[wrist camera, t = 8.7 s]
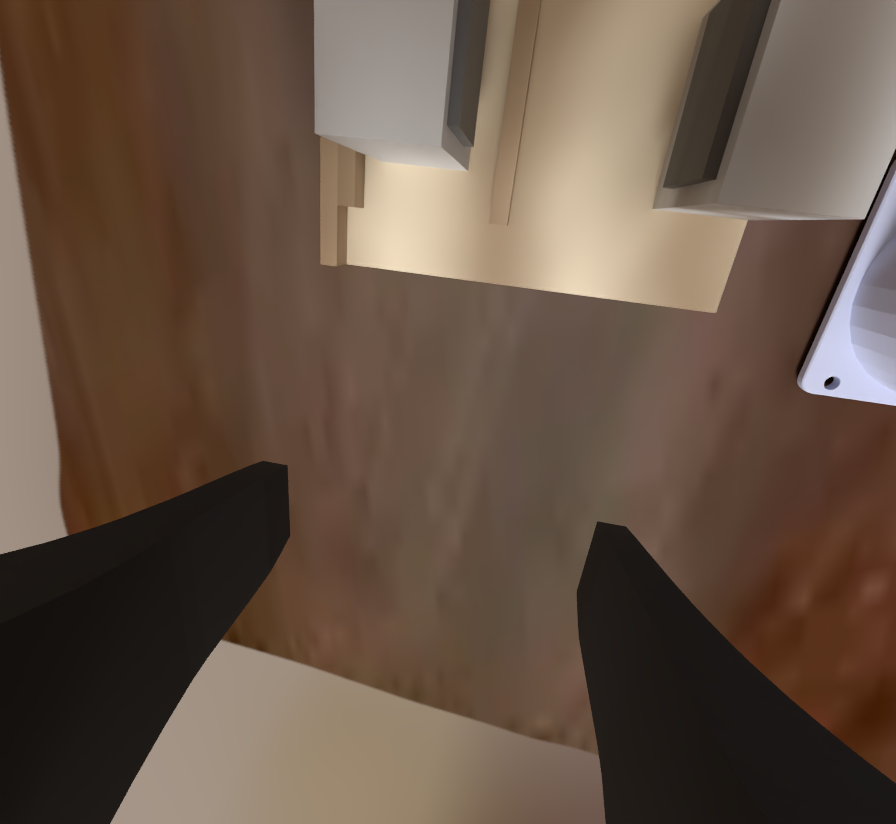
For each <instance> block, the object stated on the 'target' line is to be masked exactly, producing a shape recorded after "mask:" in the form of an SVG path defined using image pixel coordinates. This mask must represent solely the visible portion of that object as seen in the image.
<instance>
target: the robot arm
mask: <svg viewBox="0 0 896 824" xmlns="http://www.w3.org/2000/svg"><path fill="white" fill-rule="evenodd" d="M830 377H834V380H833V382H832V383H831V384H830V385H828V386H824V382H825V381H826V379H828V378H830ZM797 382H798V386H799V387H800V388H801V389H803V390H805V391H806V392H809V393H813V394H820V395H827V396H833V397H840V398H847V399H854V400H861V401H867V402H874V403H881V404H888V405H895V406H896V160H895V161H894V163H893V164H892V166H891V168H890V170H889V172H888V174H887V177H886V179H885V181H884V183H883V186H882V188H881V190H880V192H879V195H878V197H877V199H876V201H875V204H874V206H873V208H872V210H871V213H870V215H869V217H868V220H867V222H866V224H865V226H864V229H863V231H862V233H861V235H860V238H859V240H858V242H857V244H856V247H855V249H854V251H853V253H852V256H851V258H850V260H849V262H848V265H847V267H846V269H845V271H844V274H843V276H842V278H841V281H840V283H839V285H838V287H837V290H836V292H835V294H834V296H833V299H832V301H831V303H830V305H829V308H828V310H827V312H826V314H825V317H824V319H823V321H822V323H821V326H820V328H819V330H818V332H817V335H816V337H815V339H814V342H813V344H812V346H811V348H810V351H809V353H808V355H807V357H806V360H805V362H804V364H803V366H802V369H801V371H800V373H799V375H798V379H797ZM289 537H290V520H289V494H288V468H287V465H282V464H277V463H271V462H266V461H262V462H259V463H256V464H253V465H250V466H248V467H245V468H243V469H240V470H238V471H236V472H233V473H231V474H228V475H226V476H224V477H222V478H219V479H217V480H215V481H212V482H210V483H208V484H205V485H203V486H201V487H198V488H196V489H194V490H191V491H189V492H186V493H184V494H182V495H179V496H177V497H175V498H172V499H170V500H167V501H164V502H162V503H159V504H157V505H154V506H152V507H149V508H147V509H144V510H141V511H139V512H136V513H134V514H131V515H129V516H126V517H123V518H121V519H118V520H115V521H112V522H109V523H106V524H104V525H101V526H98V527H95V528H92V529H89V530H85V531H82V532H79V533H76V534H73V535H69V536H66V537H63V538H60V539H56V540H53V541H50V542H46V543H43V544H39V545H35V546H31V547H27V548H23V549H20V550H16V551H12V552H8V553H4V554H0V824H110V823H111V821H112V819H113V817H114V815H115V814H116V812H117V810H118V808H119V806H120V804H121V802H122V801H123V799H124V797H125V795H126V793H127V791H128V789H129V787H130V786H131V784H132V782H133V780H134V779H135V777H136V775H137V773H138V772H139V770H140V768H141V766H142V765H143V763H144V761H145V759H146V758H147V756H148V754H149V752H150V751H151V749H152V747H153V745H154V744H155V742H156V740H157V739H158V737H159V735H160V733H161V732H162V730H163V728H164V726H165V725H166V723H167V721H168V720H169V718H170V716H171V715H172V713H173V711H174V710H175V708H176V706H177V705H178V703H179V701H180V700H181V698H182V697H183V695H184V693H185V692H186V690H187V688H188V686H189V685H190V683H191V682H192V680H193V678H194V677H195V675H196V674H197V672H198V671H199V670H200V668H201V667H202V665H203V664H204V662H205V661H206V659H207V658H208V657H209V655H210V654H211V652H212V651H213V650H214V648H215V647H216V646H217V644H218V643H219V642H220V640H221V639H222V638H223V636H224V635H225V633H226V632H227V631H228V629H229V628H230V627H231V625H232V624H233V623H234V621H235V620H236V619H237V617H238V616H239V614H240V613H241V612H242V610H243V609H244V608H245V606H246V605H247V604H248V602H249V601H250V599H251V598H252V597H253V595H254V594H255V593H256V591H257V590H258V588H259V587H260V586H261V584H262V583H263V582H264V580H265V579H266V577H267V576H268V574H269V573H270V571H271V570H272V568H273V566H274V564H275V563H276V561H277V559H278V557H279V556H280V554H281V552H282V550H283V548H284V546H285V544H286V542H287V540H288V538H289ZM577 612H578V630H579V640H580V647H581V653H582V658H583V664H584V670H585V676H586V682H587V688H588V693H589V699H590V705H591V710H592V716H593V722H594V727H595V733H596V739H597V745H598V751H599V758H600V766H601V773H602V783H603V795H604V807H605V819H606V824H896V783H894V782H893V781H892V780H890V779H889V778H888V777H886V776H885V775H884V774H883V773H881V772H880V771H879V770H877V769H876V768H875V767H873V766H872V765H871V764H869V763H868V762H867V761H866V760H864V759H863V758H862V757H860V756H859V755H858V754H857V753H855V752H854V751H853V750H852V749H850V748H849V747H848V746H847V745H846V744H844V743H843V742H842V741H841V740H839V739H838V738H837V737H836V736H834V735H833V734H832V733H831V732H830V731H828V730H827V729H826V728H825V727H823V726H822V725H821V724H820V723H818V722H817V721H816V720H815V719H813V718H812V717H811V716H810V715H809V714H808V713H806V712H805V711H804V710H803V709H802V708H800V707H799V706H798V705H797V704H796V703H795V702H793V701H792V700H791V699H790V698H789V697H788V696H787V695H785V694H784V693H783V692H782V691H781V690H780V689H779V688H778V687H777V686H776V685H774V684H773V683H772V682H771V681H770V680H769V679H768V678H767V677H766V676H764V675H763V674H762V673H761V672H760V671H759V670H758V669H757V668H756V667H755V666H753V665H752V664H751V663H750V662H749V661H748V660H747V659H746V658H745V657H744V656H743V655H742V654H741V653H740V652H739V651H738V650H737V649H736V648H735V647H734V646H733V645H732V644H731V643H730V642H729V641H728V640H727V639H726V638H725V637H724V636H723V635H722V634H721V633H720V632H719V631H718V630H717V629H716V628H715V627H714V626H713V625H712V624H711V623H710V622H709V621H708V620H707V619H706V618H705V617H704V616H703V615H702V613H701V612H700V611H699V610H698V609H697V608H696V607H695V606H694V605H693V604H692V603H691V602H690V600H689V599H688V598H687V597H686V596H685V595H684V594H683V593H682V592H681V590H680V589H679V588H678V587H677V586H676V585H675V584H674V582H673V581H672V580H671V579H670V578H669V577H668V575H667V574H666V573H665V572H664V571H663V570H662V568H661V567H660V566H659V565H658V564H657V563H656V561H655V560H654V559H653V558H652V557H651V555H650V554H649V553H648V552H647V551H646V549H645V548H644V547H643V546H642V545H641V543H640V542H639V541H638V540H637V539H636V538H635V536H634V535H633V534H632V533H631V532H630V531H629V530H628V528H627V527H625V526H619V525H614V524H608V523H603V522H597V525H596V528H595V531H594V535H593V538H592V542H591V545H590V548H589V552H588V555H587V559H586V562H585V565H584V569H583V572H582V576H581V579H580V582H579V586H578V589H577Z"/></svg>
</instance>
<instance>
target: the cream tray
mask: <svg viewBox="0 0 896 824" xmlns="http://www.w3.org/2000/svg"><path fill="white" fill-rule="evenodd" d="M895 149H896V0H490V8H489V17H488V25H487V34H486V43H485V52H484V60H483V69H482V78H481V87H480V95H479V104H478V113H477V122H476V130H475V139H474V147H471V152H470V161H469V169H468V171H460V170H451V169H442V168H433V167H423V166H414V165H405V164H396V163H387V162H381V161H379V160H376V159H374V158H372V157H369V156H367V155H365V154H362V153H360V152H357V151H355V150H353V149H350V148H348V147H346V146H343V145H341V144H339V143H336V142H334V141H331V140H329V139H327V138H324V137H322V136H320V226H321V264H323V265H330V266H340V265H345V264H350V265H358V266H365V267H373V268H380V269H388V270H395V271H403V272H410V273H418V274H425V275H433V276H440V277H448V278H456V279H463V280H471V281H478V282H486V283H493V284H501V285H508V286H516V287H523V288H531V289H538V290H546V291H553V292H561V293H568V294H576V295H583V296H591V297H598V298H606V299H613V300H621V301H628V302H636V303H644V304H651V305H659V306H666V307H674V308H681V309H689V310H696V311H704V312H711V313H716V311H717V308H718V305H719V302H720V299H721V296H722V293H723V290H724V288H725V285H726V282H727V279H728V276H729V273H730V270H731V267H732V264H733V261H734V259H735V256H736V253H737V250H738V247H739V244H740V241H741V238H742V235H743V233H744V230H745V227H746V224H747V221H748V220H834V219H865V217H866V215H867V213H868V210H869V208H870V206H871V203H872V201H873V199H874V197H875V194H876V192H877V190H878V188H879V185H880V183H881V181H882V178H883V176H884V174H885V172H886V169H887V167H888V165H889V163H890V160H891V158H892V156H893V153H894V151H895Z"/></svg>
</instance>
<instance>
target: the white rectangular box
mask: <svg viewBox="0 0 896 824" xmlns="http://www.w3.org/2000/svg"><path fill="white" fill-rule="evenodd" d="M489 8H490V0H314V72H315V134H317V135H320V136H322V137H324V138H327V139H329V140H331V141H334V142H336V143H339V144H341V145H343V146H346V147H348V148H350V149H353V150H355V151H357V152H360V153H362V154H365V155H367V156H369V157H372V158H374V159H376V160H379V161H381V162H387V163H396V164H405V165H414V166H423V167H433V168H442V169H451V170H460V171H468V169H469V161H470V152H471V147H474V139H475V130H476V122H477V113H478V104H479V95H480V87H481V78H482V69H483V60H484V52H485V43H486V34H487V25H488V17H489Z"/></svg>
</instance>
